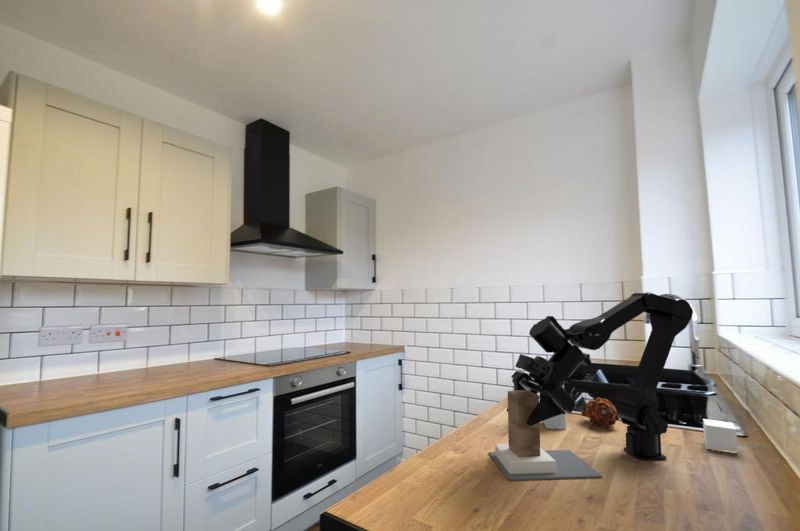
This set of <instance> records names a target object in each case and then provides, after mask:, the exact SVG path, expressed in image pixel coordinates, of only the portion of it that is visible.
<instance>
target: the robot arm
mask: <svg viewBox="0 0 800 531" xmlns="http://www.w3.org/2000/svg"><path fill="white" fill-rule="evenodd" d="M643 313H645V314H648V315H649V316H648V317H649V318H648V319H649V322H650V327H651V330H650V333H649V337H648V340H647V341H646V344H645V348H644V350H643V353H642V356H641V358H640V361H639V363H638V366H637V369H636V372H635V374H634V377H633V380H632V382H631V383H629V384H628V385H624V384H621V385H620V386H619V388H618V391H617V395H616V397H615V398H614V401H615V405H614V406H615V408H616V411H617V413H618V415H619V418H620V421H621V423H622V424H623V425H627V426H626V433H625V447H623V451H625V452H627V453H628V454H631V455H632V456H633V457H635V458H636V459H639V460H641V461H644V460H645V461H647V460H648V461H649V460H653V461H654V460H667V456H666V455H665V454H662V438H661V437H662V434H666V433H667V432H668V427H669V424H668V423H667V421H665V420H664V419H663V417H662V416H661V415H660V414H659V413H658V411H659V406H660V402H659V400H658V395H657V388H658V385H659V383H660V379H661V376H662V374H663V372H664V368H665V366H666V363H667V359H668V358H669V354H670V352H671V349H672V346H673V343H674V340H675V338H676V336H678V335H679V334H680V333H681V332H683V330H685V329H686V328H687V327H688V325H689V323H690V321H691V319H692V318H693V313H694V310H693V308H692V306H691V305H690V302H688V301H687V300H685V299H681V298H678V299H677V298H670V297H666V296H662V295H658V294H655V293H653V292H650V291H645V292H643V291H642V292H641V291H639V292H636V291H635V292H634V293H632V294H631V295H630V296H629V297H627V298H625V299H624V300H623V301H621V302H619V303H618V304H616V305H614V306H612V307H611V308H609V309H608V310H606V311H605V312H603V313H601V314H600V315H598V316H596V317H593V318H588V319H584V320H581V321H579V322H576V323H574V324H572V325H571V326H569V327H568V328H565V329H564V328H563V326H562V325H561V324H560V323H559V322H558V320H557V319H556V318H555V316H553V315H547V316H546V317H545V318H544V319H542V320H539V321H538V322H537V323H534V324H533V326H532V327H531V328H530V329H529V332H528V334H529V336H530V337H531V338H532V339H533V340H534V341H535V342H536V343H537V344H538V345H539V346H540V348H541V349H543V350H544V352H545V353H547V354H548V353H553V354H552V355H551V356H550V358H549V359H548V360H547V359H546V358H544V357H542V356H540V355H539V356H538V355H537V356H535V357H531V356H528V355H525V354H522V353H520V354H519V356H518V359H517V361H516V363H515V366H514V367H515V368H518V369H521V370H515V372H514V373H513V374H512V375H511V379H512V380H511V381H512V384H513V387H514V388H513V391H518V390H528V391H531V392H533V393H535V394H537V395H538V393H539V403H538V404H537V406H536V407H535V409H534V410H533V412H532V413H531V415H530V416H529V418H528V420H527V421H526V423H527V424H528V425H529V426H532V425H534V424H537V423H539V422H540V423H543V421H544V420H547V419H549V418H552V417H555V416H558V415H561V414H563V415H564V414H565V413H568V414H572V413H573V411H574V410H575V409H576V407H577V403H576V399H574V398H573V396H571V395H570V394H569V392H568V391H567V390H566V389H565V387H564V388H563V387H562V386H563V385H564V386H565V383H567V384H571V383H572V382H573V380H572V379H571V376H572V375H573V374H574V373H575V371H576V370H577V369H578V367H580V366H581V365H583V366H587V367H591V366H592V361H591V354H589V353H586V352H583V351H582V350H581V349H586V350H589V351H597V350H600V348H602V347H603V346H604V345H605V344H606V343H607V342H608V341H609V340H610V338H611V336H612V333H614V332H615V331H616V330H618V329H619V328H621V327H622V326H624V325H626V324H627V323H629V322H631V321H633V320H634V319H635V318H637V317H638V316H640V315H641V314H643ZM522 370H524V371H522ZM525 371H526V372H525ZM527 372H528V373H527ZM564 411H565V412H564ZM506 413H508V407H506Z"/></svg>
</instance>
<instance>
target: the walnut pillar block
mask: <svg viewBox="0 0 800 531" xmlns="http://www.w3.org/2000/svg"><path fill="white" fill-rule="evenodd" d="M539 401H540V394H538V393H537V394H535V393H533V392H531V391H528V390H518V391H514V390H507V408H508V412H507V420H508V421H507V423H508V424H507V425H508V426H507V427H508V428H507V432H508V444H509V450H511V451H512V452H513V453H514V454H515V455H517V456H518V457H519V458H521V457H533V456H540V447H541V432H540V429H541V428H540V423H541V422H539V423H537V424H534V425H532V426H529V425H528V424H527V423H526V421H527V420H528V418H529V416H530V415H531V413H532V412H533V410H534V409H535V407H536V406H537V404H538V403H539Z"/></svg>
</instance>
